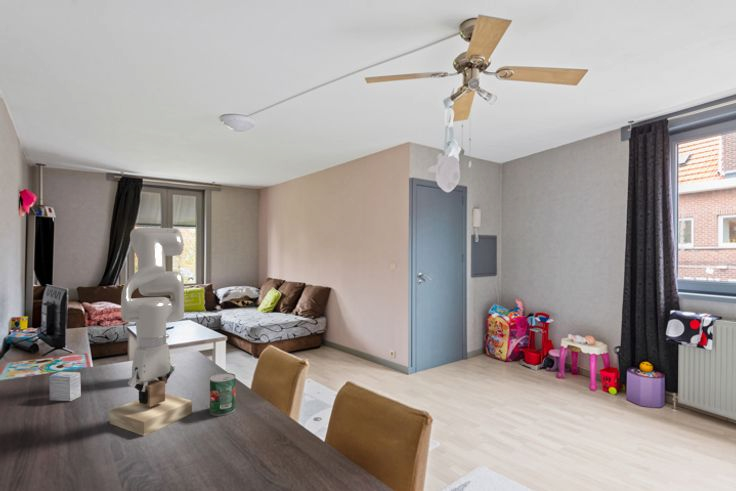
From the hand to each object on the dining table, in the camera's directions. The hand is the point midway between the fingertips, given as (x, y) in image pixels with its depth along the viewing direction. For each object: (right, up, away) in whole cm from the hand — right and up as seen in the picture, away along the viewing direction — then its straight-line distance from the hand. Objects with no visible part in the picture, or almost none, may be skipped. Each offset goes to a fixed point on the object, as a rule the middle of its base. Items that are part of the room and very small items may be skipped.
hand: (152, 399), depth 119 cm
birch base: (0, -6, 0) cm, 6 cm away
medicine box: (-38, -6, +14) cm, 41 cm away
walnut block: (0, -1, 0) cm, 1 cm away
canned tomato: (+20, -6, +6) cm, 21 cm away
